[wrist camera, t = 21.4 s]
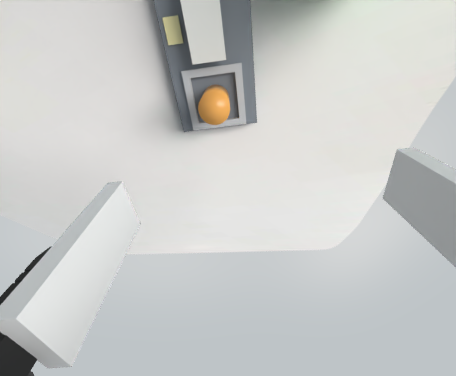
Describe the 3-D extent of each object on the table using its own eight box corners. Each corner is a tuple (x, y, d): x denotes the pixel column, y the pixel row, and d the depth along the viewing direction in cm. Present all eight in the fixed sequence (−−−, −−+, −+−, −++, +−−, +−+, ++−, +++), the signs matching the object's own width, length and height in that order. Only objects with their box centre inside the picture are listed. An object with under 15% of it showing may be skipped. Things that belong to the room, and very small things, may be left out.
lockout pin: (200, 86, 33) (195, 94, 27) (227, 82, 33) (227, 89, 27) (205, 113, 35) (201, 127, 29) (230, 110, 35) (231, 122, 29)
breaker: (178, -17, 25) (176, -19, 24) (217, -23, 25) (216, -25, 24) (193, 62, 30) (192, 64, 29) (226, 58, 30) (226, 59, 29)
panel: (133, -102, 25) (122, -121, 22) (241, -123, 24) (243, -144, 21) (185, 128, 38) (182, 134, 36) (255, 119, 38) (257, 124, 35)
